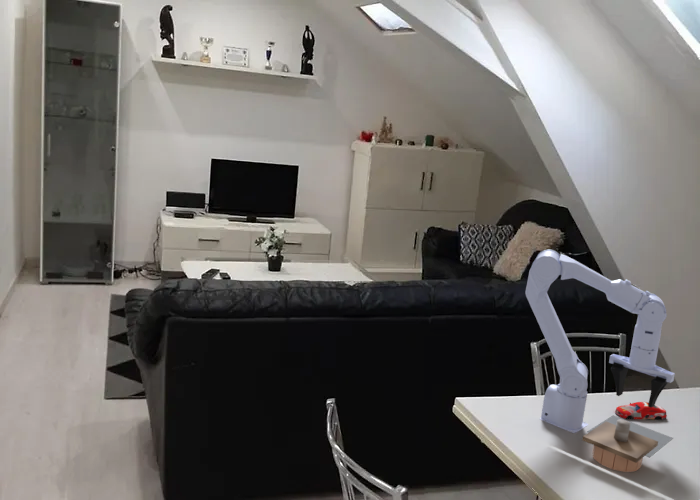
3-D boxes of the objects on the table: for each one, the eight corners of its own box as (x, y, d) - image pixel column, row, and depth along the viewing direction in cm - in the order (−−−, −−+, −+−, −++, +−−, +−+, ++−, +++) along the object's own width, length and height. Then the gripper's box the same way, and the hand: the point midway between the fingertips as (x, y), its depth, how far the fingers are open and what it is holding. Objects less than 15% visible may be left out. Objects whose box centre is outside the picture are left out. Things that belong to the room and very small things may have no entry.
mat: (586, 433, 162) (586, 431, 162) (612, 417, 173) (613, 415, 173) (649, 459, 152) (649, 457, 152) (672, 440, 163) (673, 438, 163)
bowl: (584, 459, 150) (587, 441, 149) (603, 446, 157) (607, 428, 156) (628, 479, 143) (632, 459, 142) (647, 464, 150) (650, 445, 149)
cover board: (582, 440, 149) (585, 419, 148) (605, 425, 158) (608, 405, 157) (636, 462, 141) (640, 441, 140) (657, 445, 150) (661, 425, 148)
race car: (620, 422, 171) (622, 408, 170) (610, 413, 176) (612, 399, 176) (669, 424, 173) (671, 409, 172) (657, 414, 178) (660, 400, 177)
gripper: (683, 352, 155) (672, 406, 158) (621, 334, 165) (612, 385, 168) (672, 358, 150) (661, 414, 153) (609, 339, 160) (600, 392, 163)
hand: (635, 400), depth 160 cm, fingers open, 7 cm apart
